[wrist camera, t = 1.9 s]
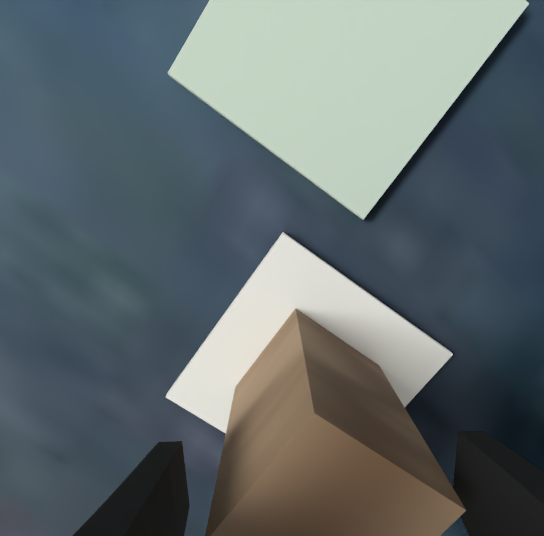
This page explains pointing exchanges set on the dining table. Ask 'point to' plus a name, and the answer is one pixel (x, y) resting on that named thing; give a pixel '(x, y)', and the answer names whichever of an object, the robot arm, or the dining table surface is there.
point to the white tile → (317, 306)
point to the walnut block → (324, 448)
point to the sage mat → (340, 79)
